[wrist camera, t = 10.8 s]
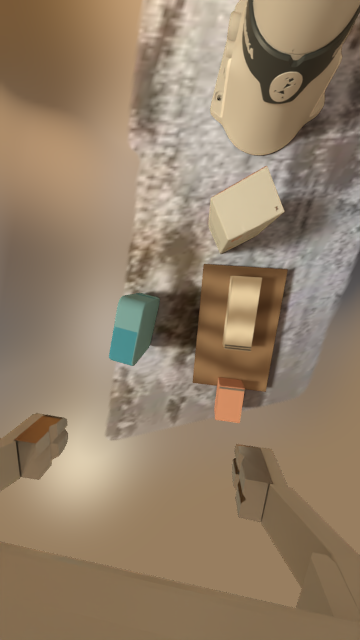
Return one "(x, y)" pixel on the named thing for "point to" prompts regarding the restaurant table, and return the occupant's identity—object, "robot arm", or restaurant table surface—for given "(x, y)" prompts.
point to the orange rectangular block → (229, 399)
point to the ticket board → (215, 324)
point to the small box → (244, 210)
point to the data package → (133, 327)
